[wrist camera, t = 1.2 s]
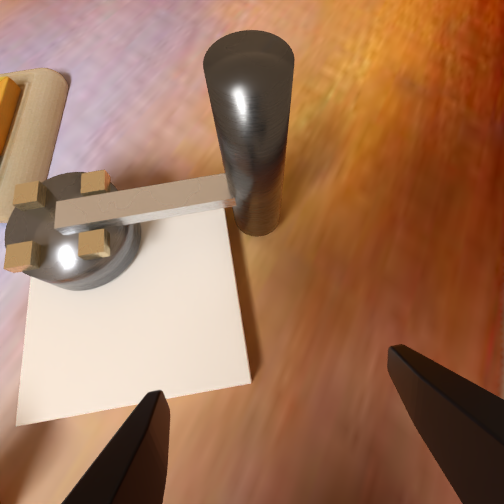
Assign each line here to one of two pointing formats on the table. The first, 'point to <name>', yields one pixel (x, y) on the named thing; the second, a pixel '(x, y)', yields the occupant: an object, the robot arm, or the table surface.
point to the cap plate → (138, 327)
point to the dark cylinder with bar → (167, 194)
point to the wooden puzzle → (28, 128)
